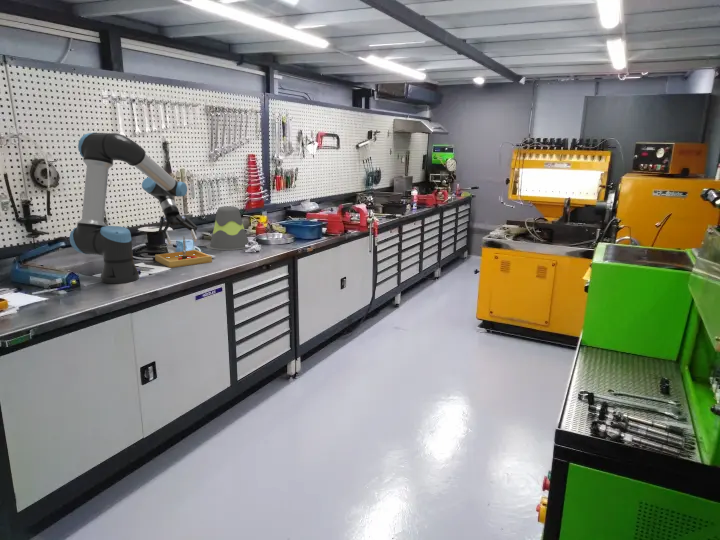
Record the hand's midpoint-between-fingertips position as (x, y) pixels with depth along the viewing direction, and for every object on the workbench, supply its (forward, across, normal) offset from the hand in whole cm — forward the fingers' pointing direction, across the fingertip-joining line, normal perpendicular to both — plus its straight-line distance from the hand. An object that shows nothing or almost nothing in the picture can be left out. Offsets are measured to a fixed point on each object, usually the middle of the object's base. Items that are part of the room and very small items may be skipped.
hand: (183, 241), depth 247 cm
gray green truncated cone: (-10, -38, -25) cm, 47 cm away
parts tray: (+8, 0, -7) cm, 10 cm away
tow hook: (+7, -2, -7) cm, 10 cm away
